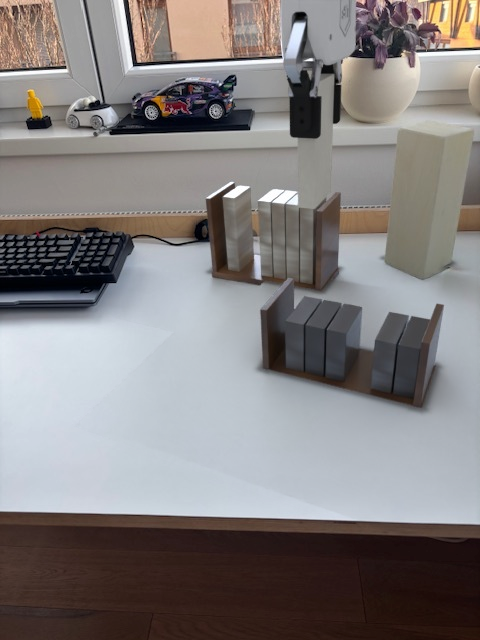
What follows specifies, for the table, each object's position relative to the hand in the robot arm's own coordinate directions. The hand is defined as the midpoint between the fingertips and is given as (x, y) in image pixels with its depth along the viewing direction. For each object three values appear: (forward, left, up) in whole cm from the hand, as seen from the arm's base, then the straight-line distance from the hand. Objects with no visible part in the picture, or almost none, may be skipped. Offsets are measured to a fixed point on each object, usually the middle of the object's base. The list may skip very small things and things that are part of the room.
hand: (315, 128), depth 59 cm
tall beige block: (-9, -23, -26) cm, 36 cm away
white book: (0, 0, -8) cm, 8 cm away
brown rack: (+11, -12, -26) cm, 30 cm away
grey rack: (-7, +8, -26) cm, 28 cm away
